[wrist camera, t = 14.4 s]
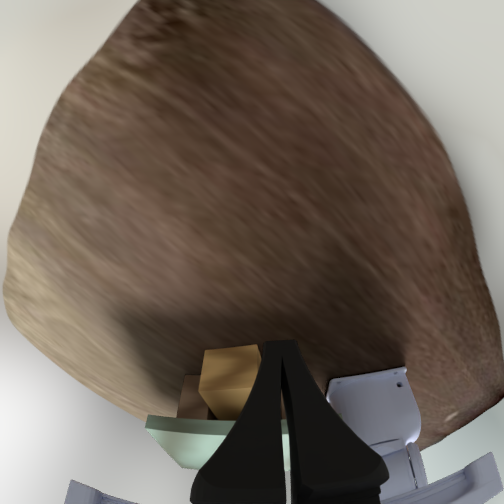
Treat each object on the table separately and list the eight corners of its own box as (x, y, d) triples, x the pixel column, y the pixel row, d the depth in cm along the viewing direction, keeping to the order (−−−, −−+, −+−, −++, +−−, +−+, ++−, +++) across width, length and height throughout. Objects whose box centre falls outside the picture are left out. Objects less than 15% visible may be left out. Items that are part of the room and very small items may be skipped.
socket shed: (329, 358, 26) (344, 427, 19) (316, 414, 32) (323, 466, 25) (162, 362, 27) (144, 428, 20) (189, 417, 33) (182, 467, 26)
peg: (257, 342, 25) (257, 387, 21) (276, 404, 31) (277, 439, 26) (205, 348, 26) (198, 391, 21) (236, 407, 31) (234, 442, 27)
